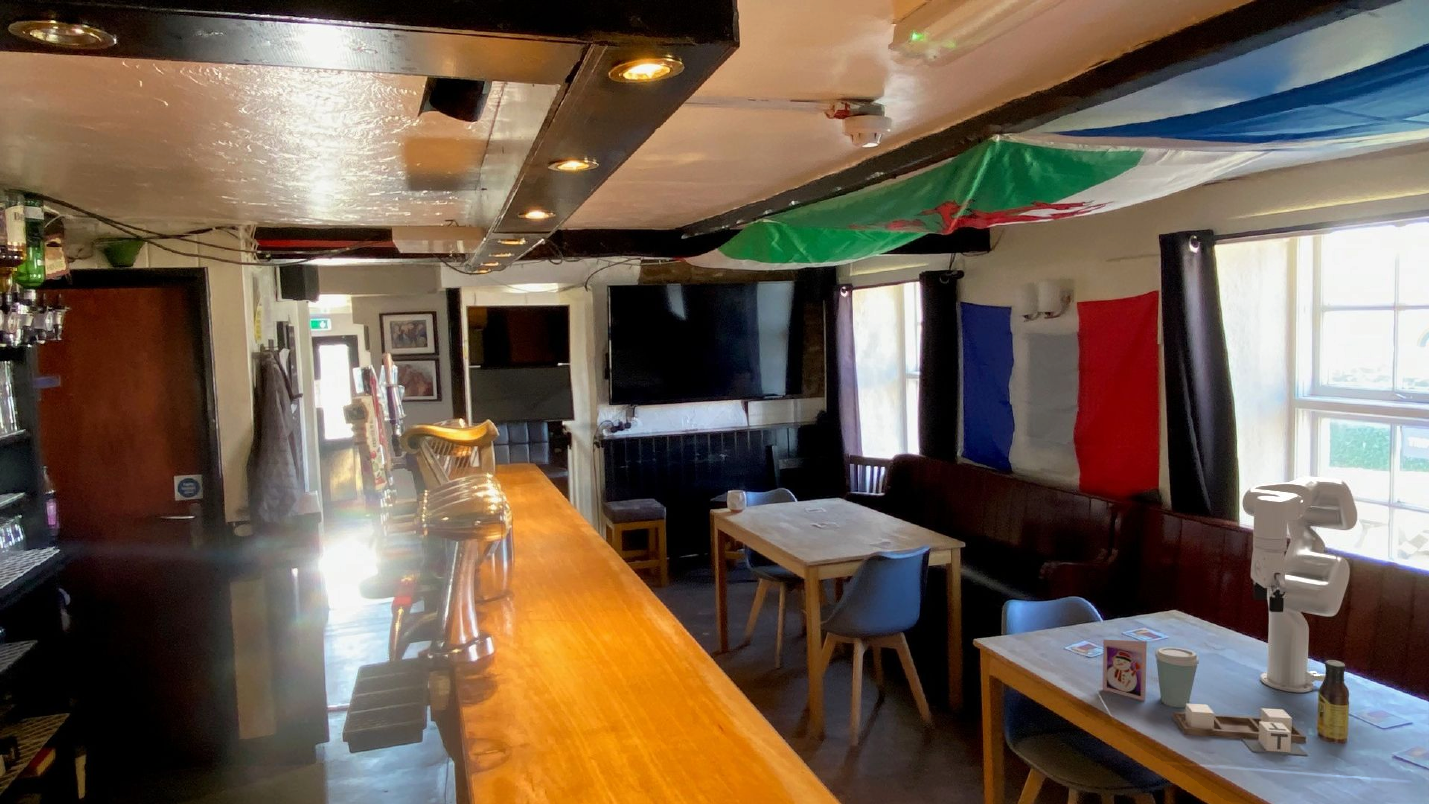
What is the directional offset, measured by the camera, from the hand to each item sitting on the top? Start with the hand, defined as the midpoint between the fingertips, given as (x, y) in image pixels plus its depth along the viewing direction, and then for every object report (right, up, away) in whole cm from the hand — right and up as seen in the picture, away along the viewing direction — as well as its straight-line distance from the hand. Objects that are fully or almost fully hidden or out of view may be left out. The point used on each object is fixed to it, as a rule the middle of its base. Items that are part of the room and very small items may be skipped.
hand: (1268, 605), depth 231 cm
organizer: (-16, -29, -12) cm, 35 cm away
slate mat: (-13, -30, -22) cm, 39 cm away
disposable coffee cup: (-23, -28, +4) cm, 36 cm away
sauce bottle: (+5, -29, -17) cm, 35 cm away
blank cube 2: (-7, -29, -14) cm, 33 cm away
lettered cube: (-13, -29, -22) cm, 39 cm away
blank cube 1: (-24, -29, -11) cm, 39 cm away
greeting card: (-32, -28, +11) cm, 44 cm away
